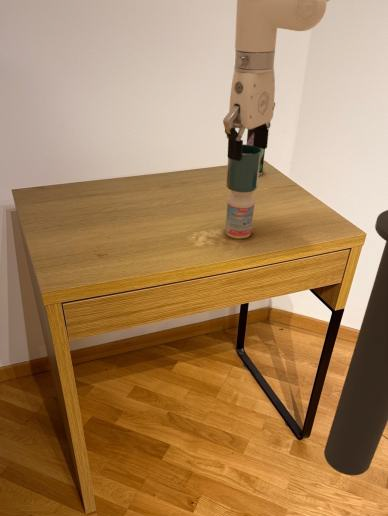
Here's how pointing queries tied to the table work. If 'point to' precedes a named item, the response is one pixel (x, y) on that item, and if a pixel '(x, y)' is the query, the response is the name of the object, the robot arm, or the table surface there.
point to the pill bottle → (239, 214)
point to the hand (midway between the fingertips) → (247, 153)
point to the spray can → (250, 142)
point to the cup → (244, 170)
